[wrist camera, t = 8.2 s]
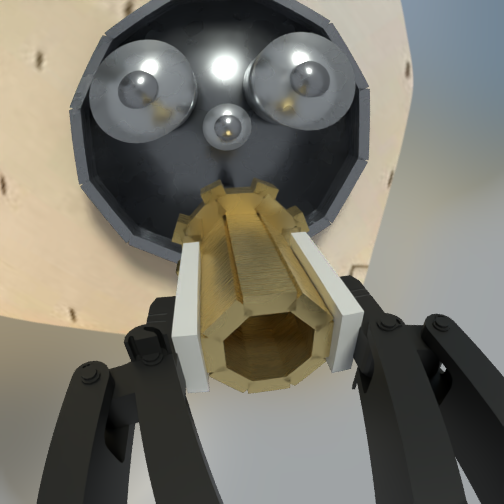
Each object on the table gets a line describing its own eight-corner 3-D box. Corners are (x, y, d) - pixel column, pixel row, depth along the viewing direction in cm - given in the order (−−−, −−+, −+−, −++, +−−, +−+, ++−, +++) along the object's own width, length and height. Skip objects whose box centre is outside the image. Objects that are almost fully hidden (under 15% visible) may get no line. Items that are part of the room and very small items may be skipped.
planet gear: (184, 300, 19) (176, 422, 11) (168, 183, 16) (128, 254, 8) (298, 289, 20) (354, 397, 12) (303, 175, 17) (392, 233, 9)
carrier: (111, 263, 28) (87, 311, 21) (81, 20, 17) (42, -4, 10) (346, 239, 31) (384, 278, 24) (347, 5, 20) (393, -19, 13)
